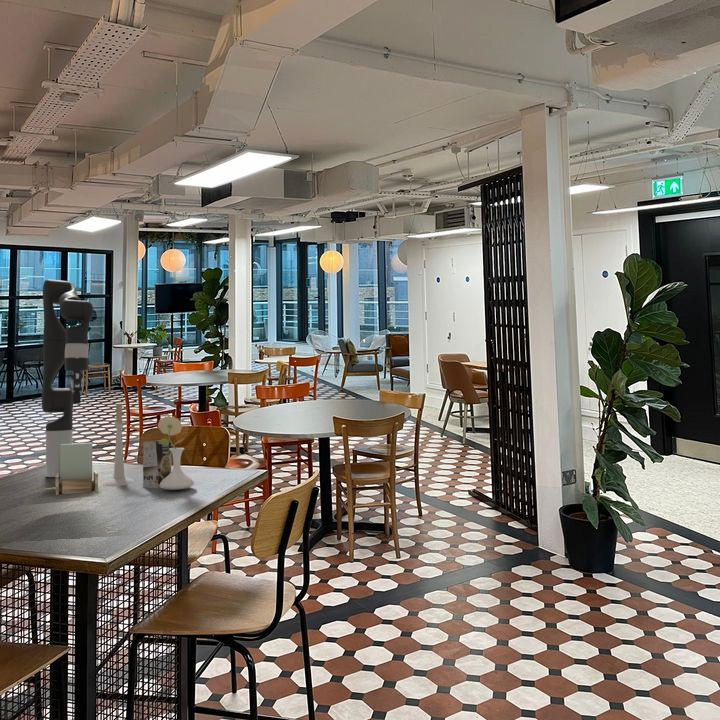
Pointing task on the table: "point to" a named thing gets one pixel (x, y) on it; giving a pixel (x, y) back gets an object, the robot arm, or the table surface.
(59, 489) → the offcut rack
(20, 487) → the table surface
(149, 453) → the coffee box
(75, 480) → the block
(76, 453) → the tall sheet
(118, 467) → the candlestick
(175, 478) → the flower in vase
